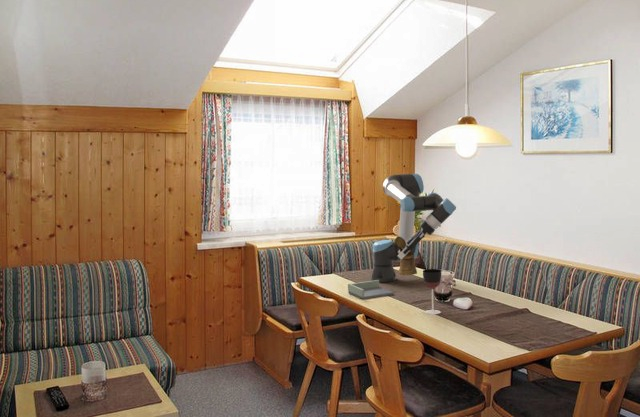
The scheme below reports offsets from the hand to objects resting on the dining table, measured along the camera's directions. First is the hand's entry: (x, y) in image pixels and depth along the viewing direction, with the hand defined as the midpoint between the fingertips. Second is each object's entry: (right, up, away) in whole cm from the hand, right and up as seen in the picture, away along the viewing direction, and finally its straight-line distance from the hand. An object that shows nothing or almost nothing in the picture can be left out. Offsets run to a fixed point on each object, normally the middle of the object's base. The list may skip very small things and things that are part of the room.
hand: (399, 255), depth 306 cm
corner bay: (-13, -22, +21) cm, 33 cm away
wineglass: (+13, -26, -19) cm, 35 cm away
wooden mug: (+3, -9, +1) cm, 9 cm away
